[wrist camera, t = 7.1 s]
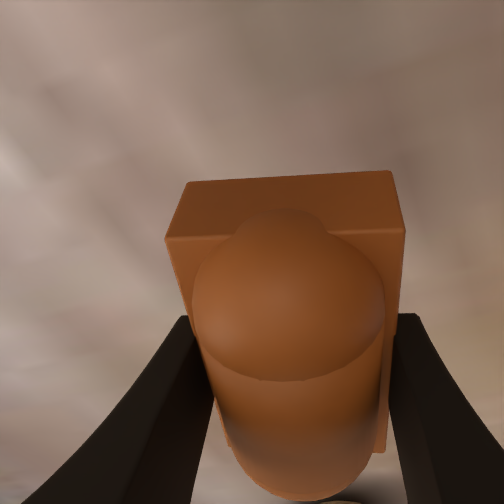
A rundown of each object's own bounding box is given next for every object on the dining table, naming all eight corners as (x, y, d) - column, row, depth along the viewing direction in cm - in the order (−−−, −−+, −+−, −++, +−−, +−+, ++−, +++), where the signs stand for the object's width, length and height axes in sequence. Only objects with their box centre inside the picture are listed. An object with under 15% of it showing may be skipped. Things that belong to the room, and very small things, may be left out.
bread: (377, 392, 15) (393, 533, 12) (238, 389, 16) (218, 522, 13) (392, 159, 10) (427, 301, 7) (184, 172, 11) (127, 304, 8)
